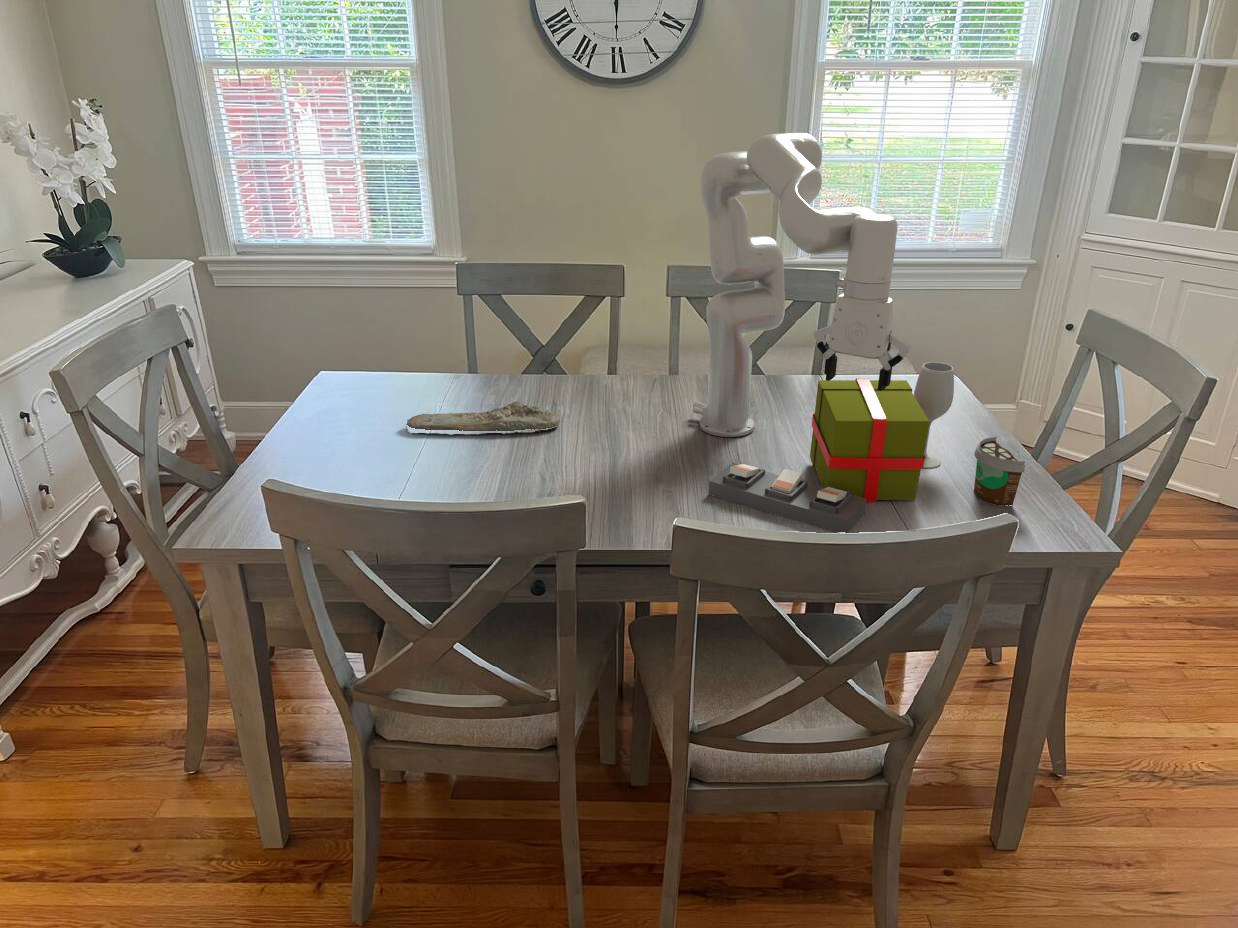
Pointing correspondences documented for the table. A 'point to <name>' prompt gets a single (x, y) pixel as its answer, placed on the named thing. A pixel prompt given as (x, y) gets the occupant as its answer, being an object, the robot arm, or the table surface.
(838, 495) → the rocker
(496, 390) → the table surface
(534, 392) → the table surface
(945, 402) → the wineglass
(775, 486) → the rocker
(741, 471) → the rocker
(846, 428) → the gift box
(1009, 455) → the food container
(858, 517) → the power strip
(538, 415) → the elongated rock
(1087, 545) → the table surface
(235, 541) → the table surface
